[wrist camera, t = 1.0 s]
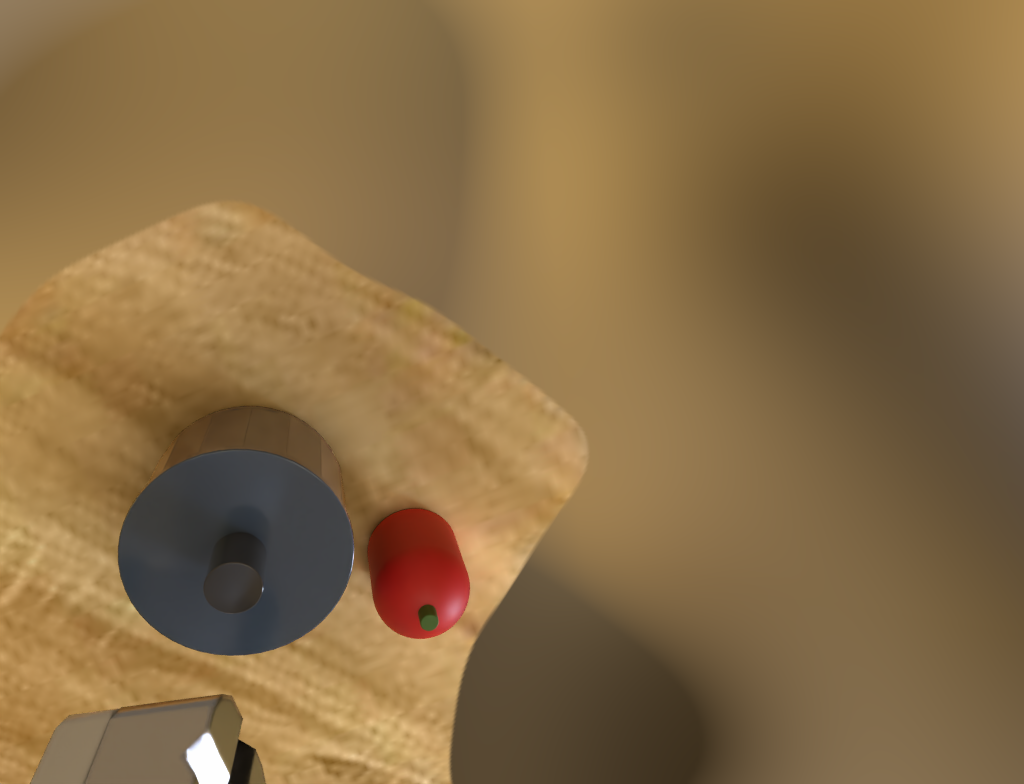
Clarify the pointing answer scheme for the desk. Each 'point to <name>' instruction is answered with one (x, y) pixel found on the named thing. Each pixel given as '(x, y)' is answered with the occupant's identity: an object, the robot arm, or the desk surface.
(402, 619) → the pepper
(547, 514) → the desk surface
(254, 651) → the pot lid
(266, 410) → the pot
